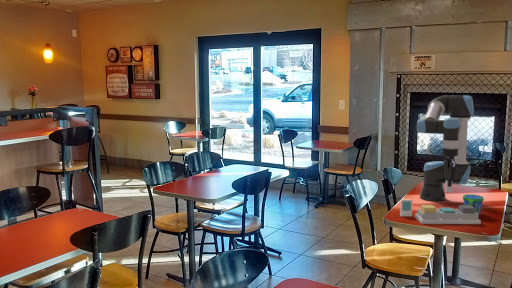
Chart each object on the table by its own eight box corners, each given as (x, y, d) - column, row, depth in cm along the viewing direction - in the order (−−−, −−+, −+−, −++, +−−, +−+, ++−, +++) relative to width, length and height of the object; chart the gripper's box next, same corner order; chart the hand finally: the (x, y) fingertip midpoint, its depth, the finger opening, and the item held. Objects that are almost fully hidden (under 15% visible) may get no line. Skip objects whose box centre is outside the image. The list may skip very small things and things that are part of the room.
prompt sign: (399, 214, 261) (400, 198, 259) (410, 214, 260) (411, 198, 259) (401, 216, 258) (401, 200, 256) (412, 216, 257) (412, 200, 256)
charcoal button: (458, 212, 251) (458, 205, 251) (469, 212, 251) (470, 205, 251) (462, 215, 246) (463, 208, 245) (474, 215, 245) (474, 208, 245)
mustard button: (420, 212, 252) (420, 204, 252) (431, 212, 252) (432, 205, 252) (424, 215, 246) (424, 207, 246) (435, 215, 246) (436, 208, 246)
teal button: (439, 214, 252) (439, 207, 252) (450, 215, 252) (451, 207, 251) (443, 218, 246) (443, 210, 246) (454, 218, 246) (455, 210, 245)
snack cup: (478, 219, 251) (479, 200, 250) (457, 215, 258) (458, 197, 256) (486, 213, 263) (487, 195, 262) (466, 209, 270) (467, 192, 268)
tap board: (414, 217, 256) (415, 208, 255) (471, 217, 255) (471, 208, 254) (421, 223, 244) (422, 214, 243) (480, 224, 243) (481, 214, 242)
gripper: (438, 146, 251) (436, 189, 254) (447, 149, 238) (445, 195, 241) (453, 146, 250) (451, 189, 254) (462, 149, 238) (460, 195, 241)
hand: (448, 192), depth 248 cm, fingers closed
